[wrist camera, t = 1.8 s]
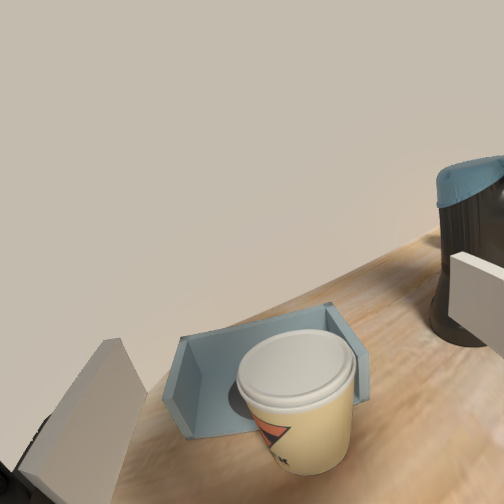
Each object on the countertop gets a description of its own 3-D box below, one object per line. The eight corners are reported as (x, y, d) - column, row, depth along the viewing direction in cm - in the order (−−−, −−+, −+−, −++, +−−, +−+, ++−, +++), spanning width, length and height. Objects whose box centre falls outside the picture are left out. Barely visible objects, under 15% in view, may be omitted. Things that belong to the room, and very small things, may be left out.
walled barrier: (336, 342, 40) (331, 301, 39) (369, 399, 28) (368, 353, 26) (196, 375, 41) (180, 337, 39) (185, 439, 28) (161, 399, 26)
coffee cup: (256, 432, 28) (225, 348, 25) (333, 402, 29) (322, 315, 26) (280, 496, 19) (248, 420, 16) (374, 456, 20) (379, 366, 17)
